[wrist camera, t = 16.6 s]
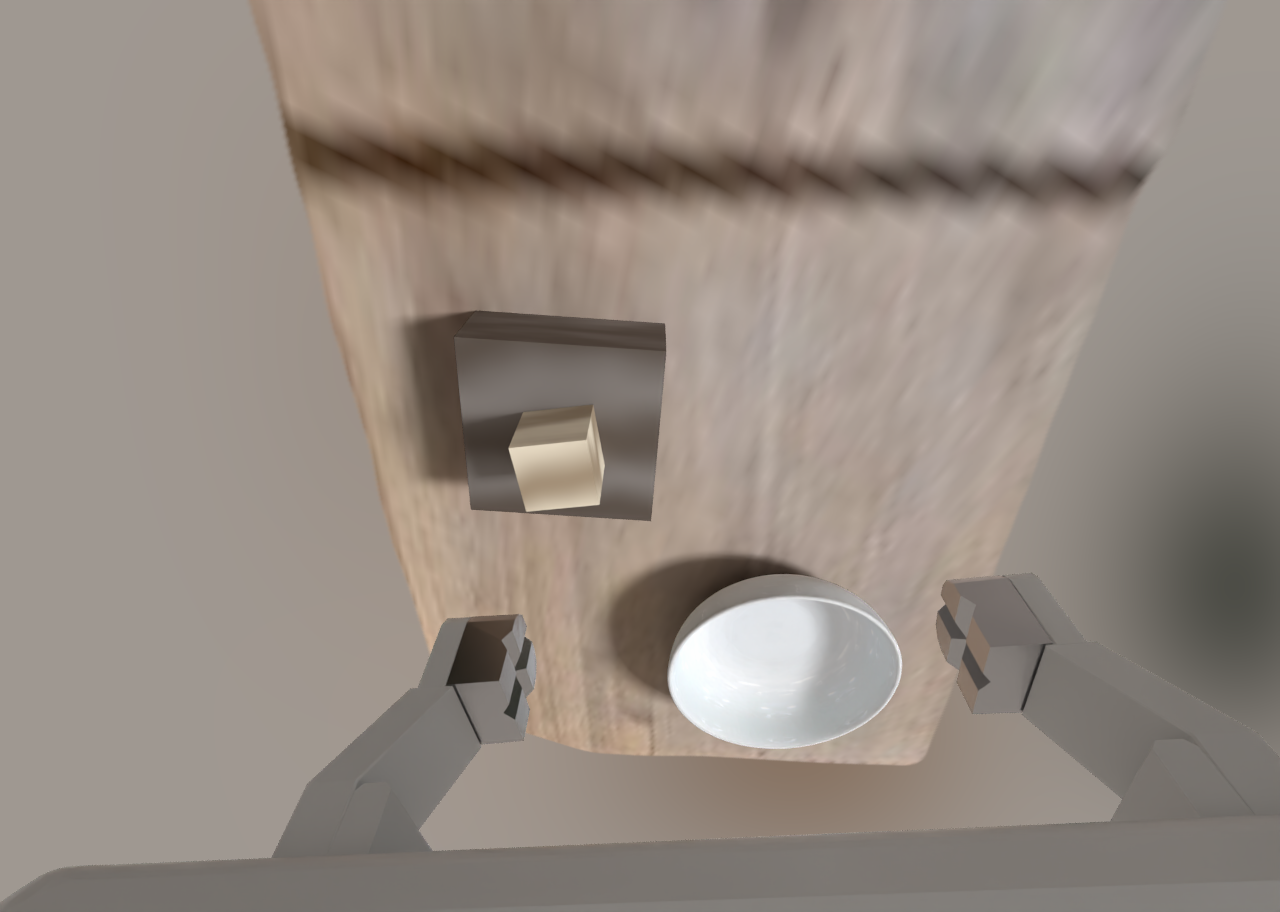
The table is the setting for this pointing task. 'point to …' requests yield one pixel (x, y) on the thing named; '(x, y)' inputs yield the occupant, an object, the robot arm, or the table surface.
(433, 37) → the table surface
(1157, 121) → the table surface
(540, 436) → the birch cube
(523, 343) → the charcoal riser block
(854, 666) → the serving bowl
